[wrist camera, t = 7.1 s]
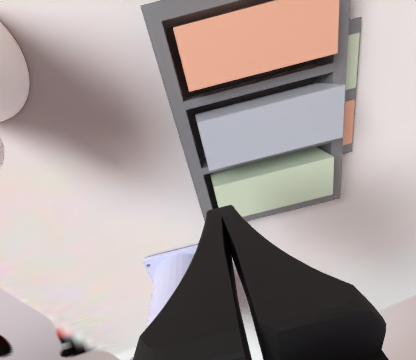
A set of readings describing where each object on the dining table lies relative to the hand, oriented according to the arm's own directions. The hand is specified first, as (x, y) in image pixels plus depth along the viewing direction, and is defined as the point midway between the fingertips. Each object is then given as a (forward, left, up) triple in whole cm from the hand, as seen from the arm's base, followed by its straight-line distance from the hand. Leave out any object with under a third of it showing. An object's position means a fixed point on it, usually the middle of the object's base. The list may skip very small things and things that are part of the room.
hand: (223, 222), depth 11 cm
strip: (+2, -13, -10) cm, 17 cm away
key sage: (-3, -5, -10) cm, 11 cm away
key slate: (+2, -5, -9) cm, 10 cm away
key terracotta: (+8, -5, -10) cm, 14 cm away
